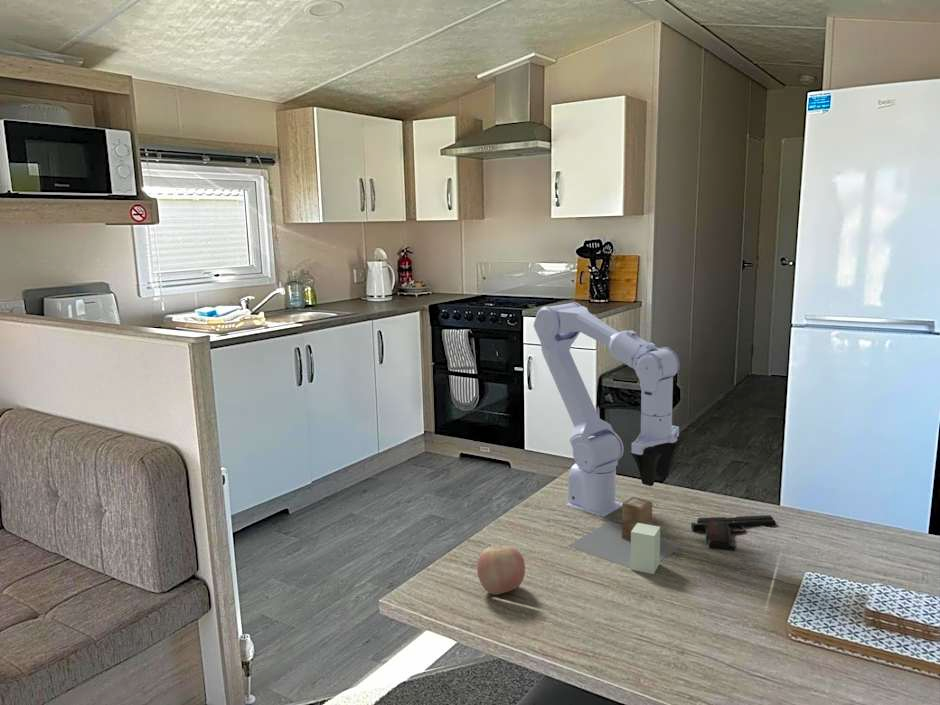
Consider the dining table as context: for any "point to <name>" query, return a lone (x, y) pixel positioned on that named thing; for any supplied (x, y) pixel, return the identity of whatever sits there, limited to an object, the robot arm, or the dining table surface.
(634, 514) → the walnut block
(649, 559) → the sage block
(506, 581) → the apple
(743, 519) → the handgun
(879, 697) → the dining table surface
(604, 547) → the mat
